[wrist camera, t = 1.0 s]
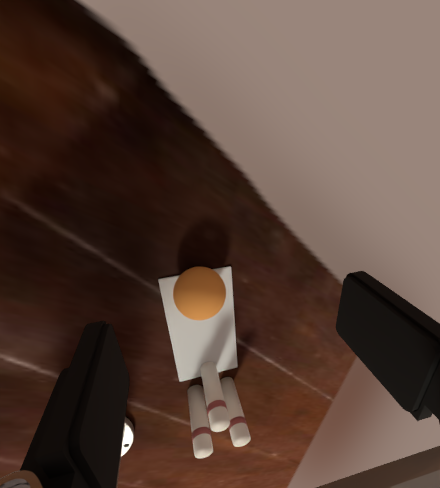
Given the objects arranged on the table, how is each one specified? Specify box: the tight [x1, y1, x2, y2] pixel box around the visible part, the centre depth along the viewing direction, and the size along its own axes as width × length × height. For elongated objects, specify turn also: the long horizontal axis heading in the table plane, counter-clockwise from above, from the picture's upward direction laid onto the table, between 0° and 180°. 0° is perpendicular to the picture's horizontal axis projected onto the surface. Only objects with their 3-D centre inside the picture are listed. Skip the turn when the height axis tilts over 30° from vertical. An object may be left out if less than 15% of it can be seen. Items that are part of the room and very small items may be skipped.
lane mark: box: [158, 266, 238, 382], centre depth 34 cm, size 18×9×1 cm, turn 4°
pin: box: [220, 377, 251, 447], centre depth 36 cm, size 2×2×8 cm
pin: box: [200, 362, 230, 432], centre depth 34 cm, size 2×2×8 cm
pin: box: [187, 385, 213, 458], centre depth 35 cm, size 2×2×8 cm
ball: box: [173, 267, 226, 320], centre depth 28 cm, size 6×6×6 cm
